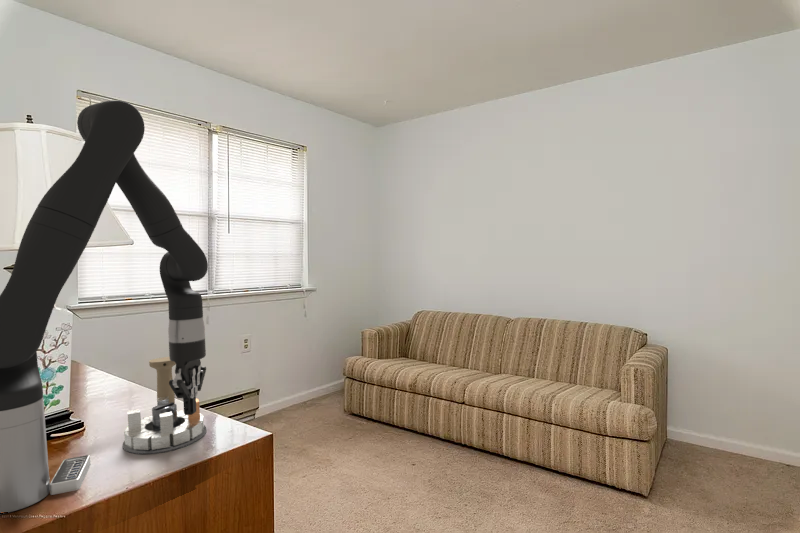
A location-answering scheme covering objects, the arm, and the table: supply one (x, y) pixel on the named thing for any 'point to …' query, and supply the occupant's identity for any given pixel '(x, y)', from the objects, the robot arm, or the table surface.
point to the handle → (164, 377)
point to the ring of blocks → (156, 427)
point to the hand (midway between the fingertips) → (190, 413)
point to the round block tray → (162, 428)
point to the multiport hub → (70, 475)
